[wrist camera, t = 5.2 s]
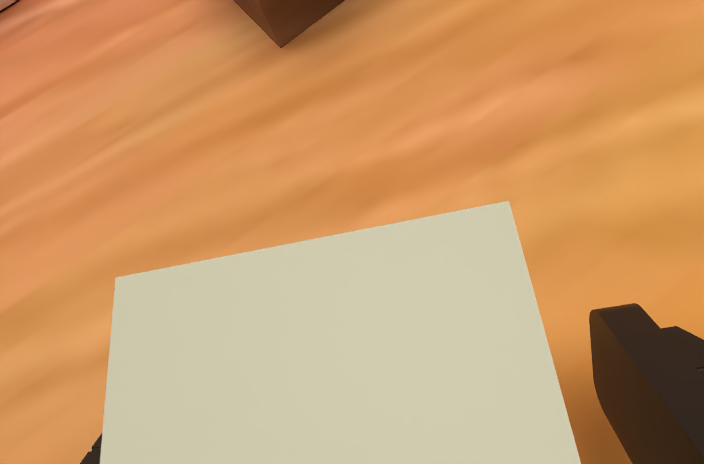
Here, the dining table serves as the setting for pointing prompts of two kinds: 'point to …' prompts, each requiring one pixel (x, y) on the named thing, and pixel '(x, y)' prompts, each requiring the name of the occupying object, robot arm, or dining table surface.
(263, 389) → the sage block
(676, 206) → the dining table surface
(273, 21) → the tower lower
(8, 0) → the white cup
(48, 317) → the dining table surface
